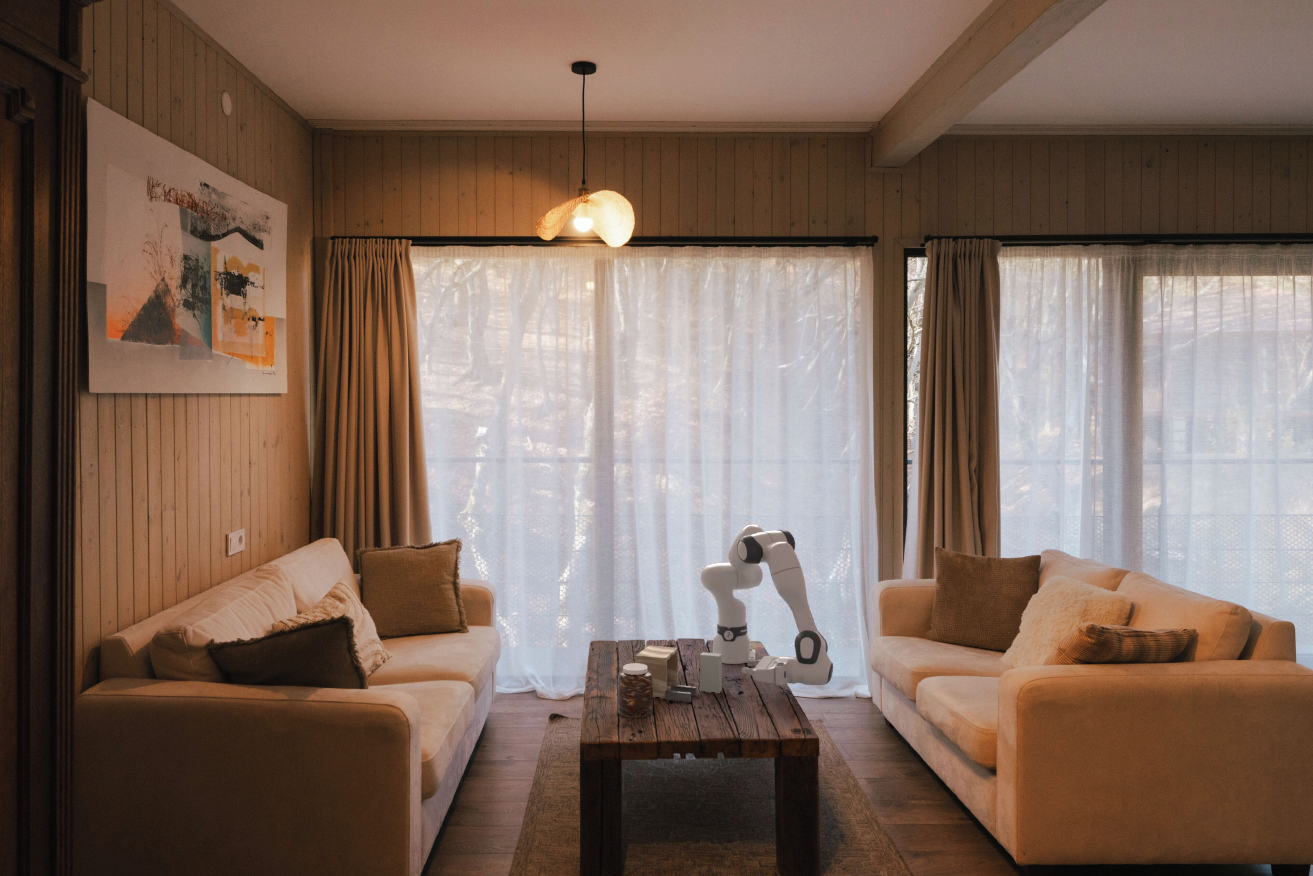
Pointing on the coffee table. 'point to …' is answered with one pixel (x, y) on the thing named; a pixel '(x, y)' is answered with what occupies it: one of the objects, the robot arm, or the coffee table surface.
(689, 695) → the dark parallel flat bars
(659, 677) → the cabinet
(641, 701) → the jar
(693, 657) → the coffee table surface
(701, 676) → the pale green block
